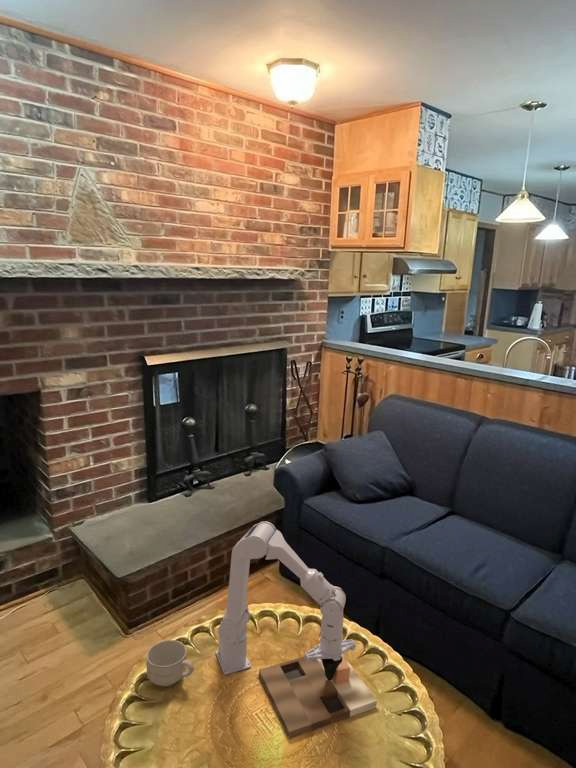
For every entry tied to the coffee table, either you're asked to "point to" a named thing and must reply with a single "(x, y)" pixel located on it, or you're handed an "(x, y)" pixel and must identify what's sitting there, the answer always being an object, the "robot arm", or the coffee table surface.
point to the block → (342, 672)
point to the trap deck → (313, 695)
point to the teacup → (167, 662)
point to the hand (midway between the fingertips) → (328, 677)
